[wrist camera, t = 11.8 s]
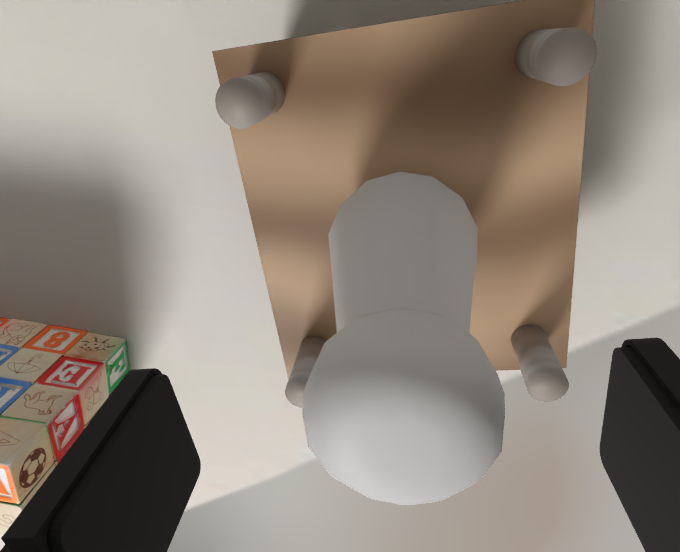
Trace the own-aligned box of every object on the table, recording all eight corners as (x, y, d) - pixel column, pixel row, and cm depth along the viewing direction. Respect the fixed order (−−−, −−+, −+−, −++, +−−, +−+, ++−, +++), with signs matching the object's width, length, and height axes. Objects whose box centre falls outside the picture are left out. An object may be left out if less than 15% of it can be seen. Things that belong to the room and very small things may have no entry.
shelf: (262, 47, 25) (173, 54, 16) (540, 2, 23) (641, -24, 13) (312, 307, 32) (272, 425, 22) (530, 294, 30) (591, 419, 20)
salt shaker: (358, 295, 23) (309, 560, 11) (319, 181, 20) (206, 363, 9) (482, 267, 21) (575, 536, 10) (455, 141, 19) (533, 295, 7)
